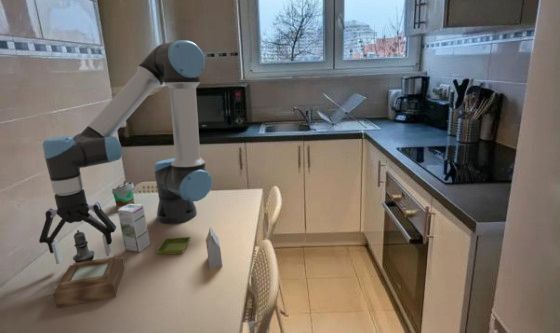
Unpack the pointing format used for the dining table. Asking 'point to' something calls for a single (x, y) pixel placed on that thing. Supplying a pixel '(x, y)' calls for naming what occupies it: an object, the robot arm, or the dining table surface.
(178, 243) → the olive green shallow tray
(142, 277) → the dining table surface
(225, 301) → the dining table surface
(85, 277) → the display pedestal
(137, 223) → the syrup box
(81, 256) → the salt shaker
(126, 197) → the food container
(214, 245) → the grey upright block
